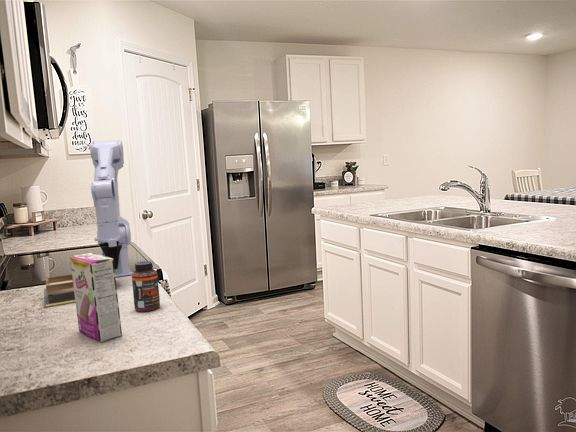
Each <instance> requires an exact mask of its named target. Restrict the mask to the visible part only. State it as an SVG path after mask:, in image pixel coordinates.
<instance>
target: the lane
mask: <svg viewBox="0 0 576 432" xmlns="http://www.w3.org/2000/svg"><path fill="white" fill-rule="evenodd" d="M70 304H76V302H75V294H74V291H69V292H63V293H56V294H53V302H49V299H48V295H47V290H46V288H44V290H43V309H47V308H53V307H58V306H59V307H60V306H65V305H70Z"/></svg>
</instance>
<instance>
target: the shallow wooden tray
mask: <svg viewBox="0 0 576 432" xmlns="http://www.w3.org/2000/svg"><path fill="white" fill-rule="evenodd" d="M45 289H46V290H47V295H48V299H49V302H53V294H56V293H63V292H69V291H74V287H73V280H72V273H71V274H65V275H59V276H58V275H57V276H52V277H51V276H50V277H46V278H45Z"/></svg>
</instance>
